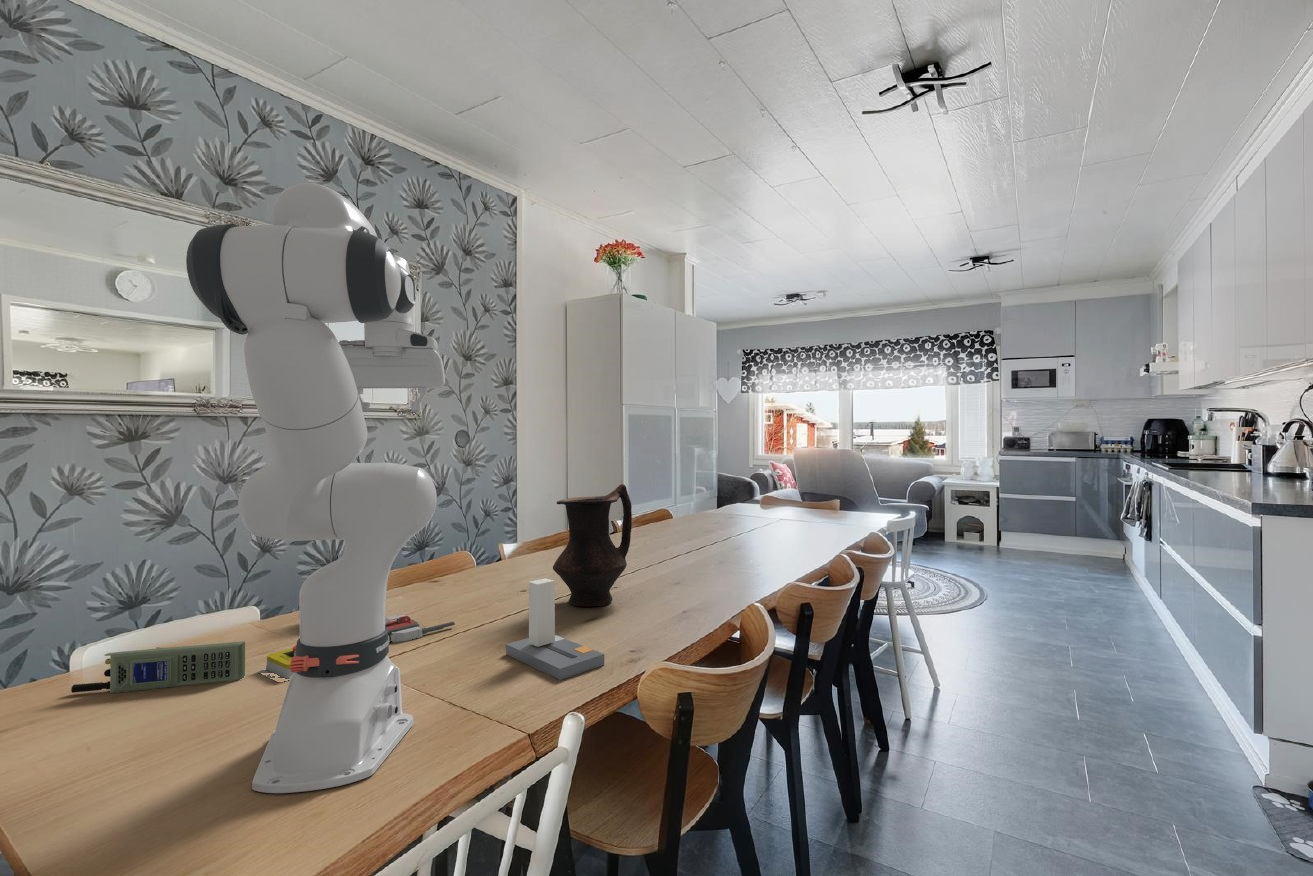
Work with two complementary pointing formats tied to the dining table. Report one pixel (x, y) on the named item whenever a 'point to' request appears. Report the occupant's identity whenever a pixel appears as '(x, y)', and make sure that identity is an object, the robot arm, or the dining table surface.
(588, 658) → the switch panel
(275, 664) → the emergency button
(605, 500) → the jug
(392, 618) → the walkie-talkie
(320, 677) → the robot arm
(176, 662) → the handheld radio
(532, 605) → the switch tab
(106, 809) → the dining table surface
